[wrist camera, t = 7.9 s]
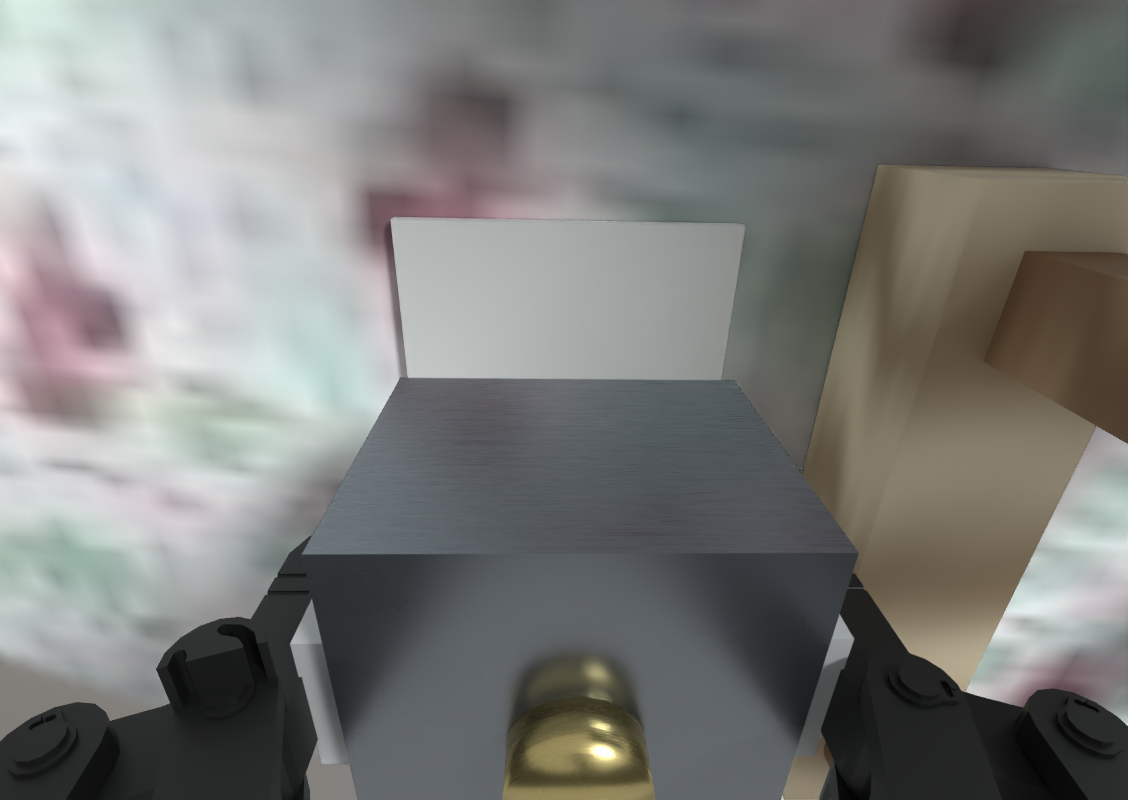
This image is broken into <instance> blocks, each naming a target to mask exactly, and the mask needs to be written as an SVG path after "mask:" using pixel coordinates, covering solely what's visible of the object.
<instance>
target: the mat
mask: <svg viewBox="0 0 1128 800" xmlns="http://www.w3.org/2000/svg"><path fill="white" fill-rule="evenodd" d="M745 227H746V226H745V225H743V224H741V223H690V222H638V221H585V220H532V219H480V218H427V217H393V218H392V219H391V229H392V238H393V247H394V256H395V266H396V275H397V284H398V293H399V303H400V312H401V321H402V330H403V340H404V349H405V358H406V368H407V377H408V378H511V379H635V380H722V373H723V367H724V361H725V354H726V348H727V342H728V335H729V329H730V322H731V316H732V310H733V303H734V297H735V291H736V284H737V278H738V272H739V265H740V259H741V253H742V246H743V240H744V234H745Z"/></svg>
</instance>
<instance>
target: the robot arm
mask: <svg viewBox="0 0 1128 800" xmlns="http://www.w3.org/2000/svg"><path fill="white" fill-rule="evenodd" d="M311 537H312V536H310V537H308V538H307V539H306V540H305V541H304V542H302V543H301V544H300V545H299V546H298V547H297V548H295V549H294V550H293V551H292V552H291V553H290V554H289V555H288V557H287V559H286V561H285V562H284V564H283V566H282V567H281V569H280V571H279V572H278V577H277V578H275V579H274V581H273V583H272V584H271V586H270V588H269V589H268V594H267V595H265V596H264V598H263V600H262V601H261V603H260V605H259V606H258V608H257V610H256V612H255V613H254V615H253V617H252V618H251V619H246V618H242V617H235V618H225V619H219V620H216V621H213V622H210V623H207V624H205V625H202V626H199V627H198V628H196V629H194V630H193V631H191V632H189V633H188V634H186V635H184V636H183V637H181V638H180V639H179V640H178V641H177V642H176V643H175V644H174V645H173V646H172V647H171V648H170V649H169V650H167V651H166V652H165V654H164V656H163V657H162V659H161V661H160V663H159V665H158V667H157V668H156V670H157V672H158V675H159V677H160V679H161V682H162V684H163V687H164V689H165V691H166V694H167V696H168V699H169V701H170V704H167V705H165V706H162V707H159V708H155V709H152V710H148V711H144V712H141V713H137V714H134V715H130V716H127V717H123V718H120V719H116V720H112V721H110V720H109V718H108V716H107V714H106V712H105V711H104V710H102V709H101V708H100V707H98V706H97V705H96V704H91V703H80V702H77V703H72V704H68V705H63V706H59V707H55V708H52V709H50V710H48V711H46V712H44V713H41V714H39V715H37V716H35V717H33V718H31V719H29V720H28V721H26V722H25V723H23V724H22V725H20V726H19V727H18V728H16V729H15V730H13V731H12V732H10V733H9V734H7V735H6V737H4V739H3V740H2V741H0V800H310V789H309V785H308V780H307V776H306V770H307V768H308V765H309V762H310V760H311V757H312V754H313V751H314V749H315V746H316V745H317V748H318V752H319V756H320V760H321V763H322V764H323V765H329V764H350V763H349V759H348V754H347V750H346V746H345V741H344V737H343V733H342V728H341V724H340V720H339V715H338V711H337V706H336V702H335V698H334V693H333V689H332V685H331V680H330V676H329V671H328V667H327V663H326V658H325V654H324V650H323V645H322V641H321V637H320V632H319V628H318V623H317V619H316V615H315V610H314V606H313V602H312V597H311V593H310V589H309V584H308V580H307V575H306V571H305V567H304V562H303V558H302V553H303V551H304V549H305V548H306V546H307V544H308V542H309V540H310V539H311ZM821 735H823V737H824V739H825V742H826V744H827V746H828V748H829V750H830V753H831V755H832V757H833V761H832V763H831V766H830V769H829V772H828V774H827V777H826V780H825V782H824V785H823V788H822V791H821V793H820V797H819V800H1128V726H1127V725H1126V724H1125V723H1124V722H1123V721H1122V720H1120V719H1119V718H1118V717H1117V716H1115V715H1114V714H1112V713H1111V712H1109V711H1108V710H1106V709H1105V708H1103V707H1102V706H1100V705H1099V704H1097V703H1095V702H1093V701H1091V700H1089V699H1086V698H1084V697H1082V696H1079V695H1077V694H1075V693H1072V692H1067V691H1062V690H1058V689H1045V690H1037V691H1036V692H1035V693H1034V694H1033V695H1032V696H1031V697H1030V698H1029V699H1028V701H1027V703H1026V704H1025V706H1024V708H1022V707H1018V706H1014V705H1010V704H1007V703H1003V702H999V701H995V700H991V699H987V698H983V697H980V696H976V695H973V694H970V693H967V692H964V691H961V689H960V687H959V686H958V684H957V683H956V682H955V681H954V680H953V679H952V678H951V677H950V676H949V675H948V674H947V673H946V672H945V671H944V670H942V669H941V668H939V667H938V666H936V665H934V664H933V663H931V662H930V661H928V660H926V659H925V658H922V657H919V656H916V655H914V654H911V653H909V652H908V650H907V649H906V647H905V646H904V644H903V643H902V641H901V640H900V638H899V637H898V636H897V634H896V633H895V631H894V630H893V628H892V627H891V625H890V624H889V622H888V621H887V619H886V618H885V616H884V615H883V614H882V612H881V611H880V609H879V608H878V606H877V605H876V603H875V602H874V600H873V599H872V597H871V596H870V594H869V593H868V592H867V590H864V586H863V584H862V583H861V581H860V580H859V578H858V577H857V575H856V574H853V573H852V576H851V580H850V583H849V586H848V589H847V592H846V595H845V599H844V602H843V605H842V608H841V611H840V614H839V617H838V621H837V624H836V627H835V630H834V633H833V636H832V640H831V643H830V646H829V649H828V652H827V655H826V658H825V662H824V665H823V668H822V671H821V674H820V677H819V681H818V684H817V687H816V690H815V693H814V696H813V699H812V703H811V706H810V709H809V712H808V715H807V718H806V722H805V725H804V728H803V731H802V734H801V737H800V741H799V744H798V747H797V750H796V753H795V756H794V757H814V756H815V753H816V750H817V747H818V744H819V741H820V738H821Z"/></svg>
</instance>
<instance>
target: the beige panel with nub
mask: <svg viewBox="0 0 1128 800" xmlns="http://www.w3.org/2000/svg"><path fill="white" fill-rule="evenodd" d="M1096 426H1098V427H1099V428H1101V429H1103V430H1105V431H1106V432H1108V433H1110V434H1112V435H1113V436H1115V437H1117V438H1119V439H1121V440H1122V441H1124V442H1126V443H1128V176H1120V175H1111V174H1101V173H1092V172H1082V171H1072V170H1063V169H1053V168H1014V167H970V166H925V165H880V164H878V167H877V171H876V175H875V179H874V183H873V187H872V191H871V195H870V199H869V203H868V208H867V212H866V216H865V220H864V224H863V228H862V232H861V236H860V240H859V244H858V248H857V252H856V256H855V261H854V265H853V269H852V273H851V277H850V281H849V285H848V289H847V293H846V297H845V301H844V305H843V309H842V313H841V318H840V322H839V326H838V330H837V334H836V338H835V342H834V346H833V350H832V354H831V358H830V362H829V366H828V371H827V375H826V379H825V383H824V387H823V391H822V395H821V399H820V403H819V407H818V411H817V415H816V419H815V423H814V428H813V432H812V436H811V440H810V444H809V448H808V452H807V456H806V460H805V464H804V468H803V472H802V475H803V476H804V477H805V479H806V480H807V482H808V483H809V484H810V486H811V487H812V489H813V490H814V491H815V493H816V494H817V495H818V497H819V498H820V500H821V501H822V502H823V504H824V505H825V507H826V508H827V509H828V511H829V512H830V513H831V515H832V516H833V518H834V519H835V520H836V522H837V523H838V524H839V526H840V527H841V529H842V530H843V531H844V533H845V534H846V536H847V537H848V538H849V540H850V541H851V542H852V544H853V545H854V547H855V548H856V549H857V551H858V552H859V554H858V558H857V561H856V564H855V567H854V570H853V574H856V575H857V577H858V578H859V580H860V581H861V583H862V584H863V586H864V590H867V592H868V593H869V594H870V596H871V597H872V599H873V600H874V602H875V603H876V605H877V606H878V608H879V609H880V611H881V612H882V614H883V615H884V616H885V618H886V619H887V621H888V622H889V624H890V625H891V627H892V628H893V630H894V631H895V633H896V634H897V636H898V637H899V638H900V640H901V641H902V643H903V644H904V646H905V647H906V649H907V650H908V652H909V653H911V654H914V655H916V656H919V657H922V658H925V659H926V660H928V661H930V662H931V663H933V664H934V665H936V666H938V667H939V668H941V669H942V670H944V671H945V672H946V673H947V674H948V675H949V676H950V677H951V678H952V679H953V680H954V681H955V682H956V683H957V684H958V686H959V687H960V689H961V691H964V692H965V691H966V689H967V687H968V685H969V683H970V681H971V679H972V677H973V675H974V672H975V670H976V668H977V666H978V664H979V662H980V660H981V658H982V656H983V654H984V652H985V650H986V648H987V646H988V644H989V642H990V640H991V638H992V636H993V634H994V632H995V630H996V628H997V626H998V624H999V622H1000V620H1001V618H1002V616H1003V614H1004V612H1005V610H1006V608H1007V606H1008V604H1009V602H1010V600H1011V598H1012V596H1013V594H1014V592H1015V590H1016V588H1017V586H1018V584H1019V581H1020V579H1021V577H1022V575H1023V573H1024V571H1025V569H1026V567H1027V565H1028V563H1029V561H1030V559H1031V557H1032V555H1033V553H1034V551H1035V549H1036V547H1037V545H1038V543H1039V541H1040V539H1041V537H1042V535H1043V533H1044V531H1045V529H1046V527H1047V525H1048V523H1049V521H1050V519H1051V517H1052V515H1053V513H1054V511H1055V509H1056V507H1057V505H1058V503H1059V501H1060V499H1061V497H1062V495H1063V493H1064V490H1065V488H1066V486H1067V484H1068V482H1069V480H1070V478H1071V476H1072V474H1073V472H1074V470H1075V468H1076V466H1077V464H1078V462H1079V460H1080V458H1081V456H1082V454H1083V452H1084V450H1085V448H1086V446H1087V444H1088V442H1089V440H1090V438H1091V436H1092V434H1093V432H1094V430H1095V428H1096ZM832 761H833V757H832V755H831V753H830V750H829V748H828V746H827V744H826V742H825V739H824V737H823V735H821V738H820V741H819V744H818V747H817V750H816V753H815V756H814V757H794V759H793V763H792V766H791V769H790V772H789V775H788V778H787V782H786V785H785V788H784V791H783V794H782V796H783V798H784V800H819V797H820V793H821V791H822V788H823V785H824V782H825V780H826V777H827V774H828V772H829V769H830V766H831V763H832Z"/></svg>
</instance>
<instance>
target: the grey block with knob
mask: <svg viewBox="0 0 1128 800" xmlns="http://www.w3.org/2000/svg"><path fill="white" fill-rule="evenodd" d="M858 554H859V552H858V551H857V549H856V548H855V547H854V545H853V544H852V542H851V541H850V540H849V538H848V537H847V536H846V534H845V533H844V531H843V530H842V529H841V527H840V526H839V524H838V523H837V522H836V520H835V519H834V518H833V516H832V515H831V513H830V512H829V511H828V509H827V508H826V507H825V505H824V504H823V502H822V501H821V500H820V498H819V497H818V495H817V494H816V493H815V491H814V490H813V489H812V487H811V486H810V484H809V483H808V482H807V480H806V479H805V477H804V476H803V475H802V473H801V472H800V471H799V469H798V468H797V466H796V465H795V464H794V462H793V461H792V460H791V458H790V457H789V455H788V454H787V453H786V451H785V450H784V448H783V447H782V446H781V444H780V443H779V442H778V440H777V439H776V437H775V436H774V435H773V433H772V432H771V430H770V429H769V428H768V426H767V425H766V424H765V422H764V421H763V419H762V418H761V417H760V415H759V414H758V413H757V411H756V410H755V408H754V407H753V406H752V404H751V403H750V401H749V400H748V399H747V397H746V396H745V395H744V393H743V392H742V390H741V389H740V388H739V386H738V385H737V384H736V382H735V381H734V380H635V379H511V378H400V379H399V381H398V383H397V385H396V387H395V388H394V390H393V392H392V394H391V396H390V397H389V399H388V401H387V403H386V404H385V406H384V408H383V410H382V412H381V413H380V415H379V417H378V419H377V421H376V422H375V424H374V426H373V428H372V430H371V431H370V433H369V435H368V437H367V438H366V440H365V442H364V444H363V446H362V447H361V449H360V451H359V453H358V455H357V456H356V458H355V460H354V462H353V464H352V465H351V467H350V469H349V471H348V472H347V474H346V476H345V478H344V480H343V481H342V483H341V485H340V487H339V489H338V490H337V492H336V494H335V496H334V498H333V499H332V501H331V503H330V505H329V506H328V508H327V510H326V512H325V514H324V515H323V517H322V519H321V521H320V523H319V524H318V526H317V528H316V530H315V532H314V533H313V535H312V537H311V539H310V540H309V542H308V544H307V546H306V548H305V549H304V551H303V553H302V558H303V562H304V567H305V571H306V575H307V580H308V584H309V589H310V593H311V597H312V602H313V606H314V610H315V615H316V619H317V623H318V628H319V632H320V637H321V641H322V645H323V650H324V654H325V658H326V663H327V667H328V671H329V676H330V680H331V685H332V689H333V693H334V698H335V702H336V706H337V711H338V715H339V720H340V724H341V728H342V733H343V737H344V741H345V746H346V750H347V754H348V759H349V763H350V768H351V772H352V776H353V781H354V785H355V789H356V793H357V798H358V800H781V797H782V794H783V791H784V788H785V785H786V782H787V778H788V775H789V772H790V769H791V766H792V763H793V759H794V756H795V753H796V750H797V747H798V744H799V741H800V737H801V734H802V731H803V728H804V725H805V722H806V718H807V715H808V712H809V709H810V706H811V703H812V699H813V696H814V693H815V690H816V687H817V684H818V681H819V677H820V674H821V671H822V668H823V665H824V662H825V658H826V655H827V652H828V649H829V646H830V643H831V640H832V636H833V633H834V630H835V627H836V624H837V621H838V617H839V614H840V611H841V608H842V605H843V602H844V599H845V595H846V592H847V589H848V586H849V583H850V580H851V576H852V573H853V570H854V567H855V564H856V561H857V558H858Z"/></svg>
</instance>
